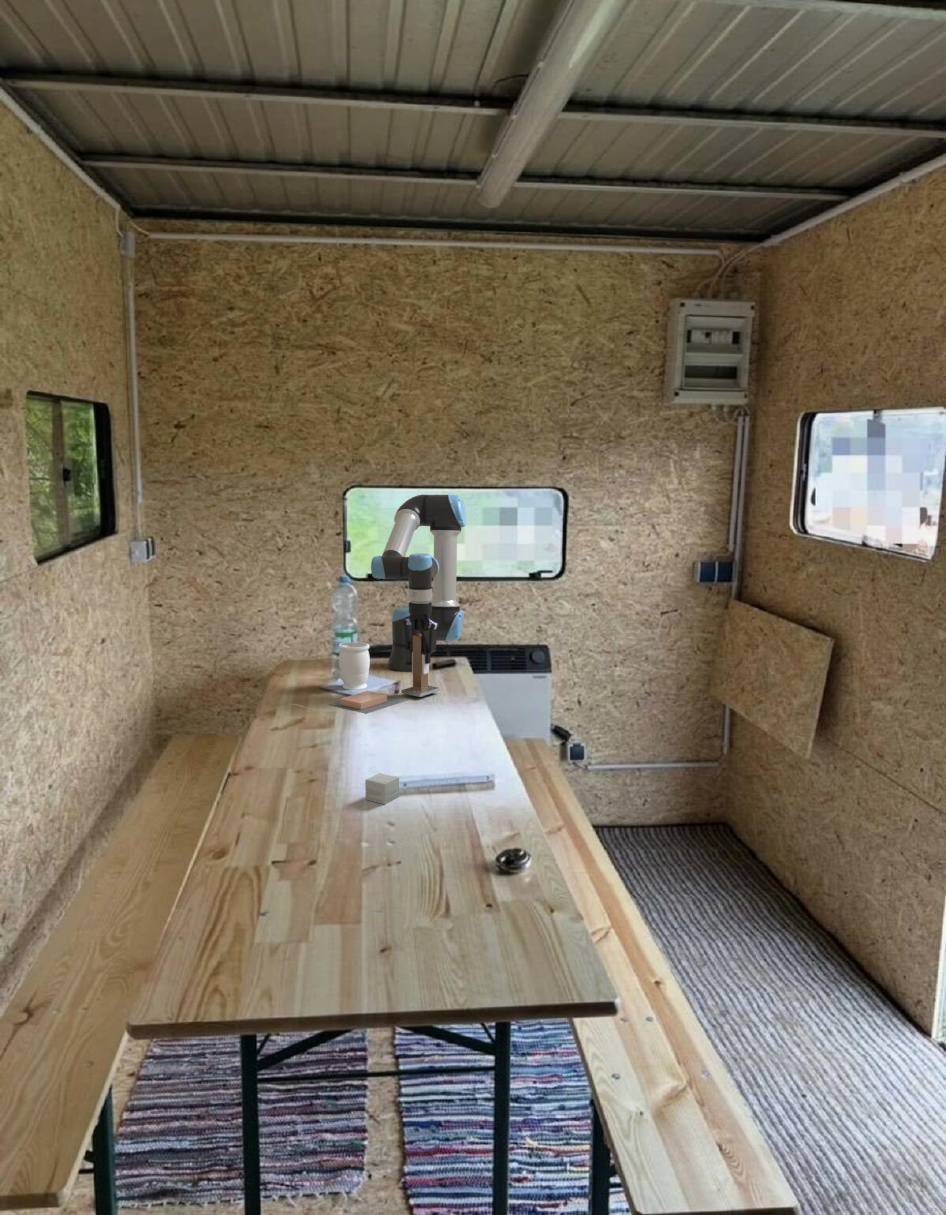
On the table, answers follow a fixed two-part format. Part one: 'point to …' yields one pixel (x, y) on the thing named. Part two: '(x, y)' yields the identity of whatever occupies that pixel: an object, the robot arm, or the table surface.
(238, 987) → the table surface
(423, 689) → the tall wooden post
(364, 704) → the terracotta tile
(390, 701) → the slate rubber mat
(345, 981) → the table surface
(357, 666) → the jar
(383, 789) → the small box
